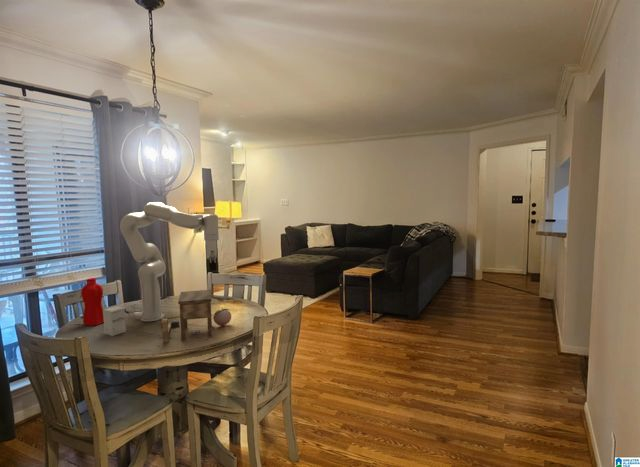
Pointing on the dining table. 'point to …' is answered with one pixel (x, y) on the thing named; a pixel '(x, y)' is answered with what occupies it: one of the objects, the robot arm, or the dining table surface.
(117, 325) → the supplement box
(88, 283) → the water bottle
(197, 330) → the token
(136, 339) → the dining table surface
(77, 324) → the dining table surface
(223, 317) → the decorative fruit
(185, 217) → the robot arm
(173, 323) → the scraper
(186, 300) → the cabinet
